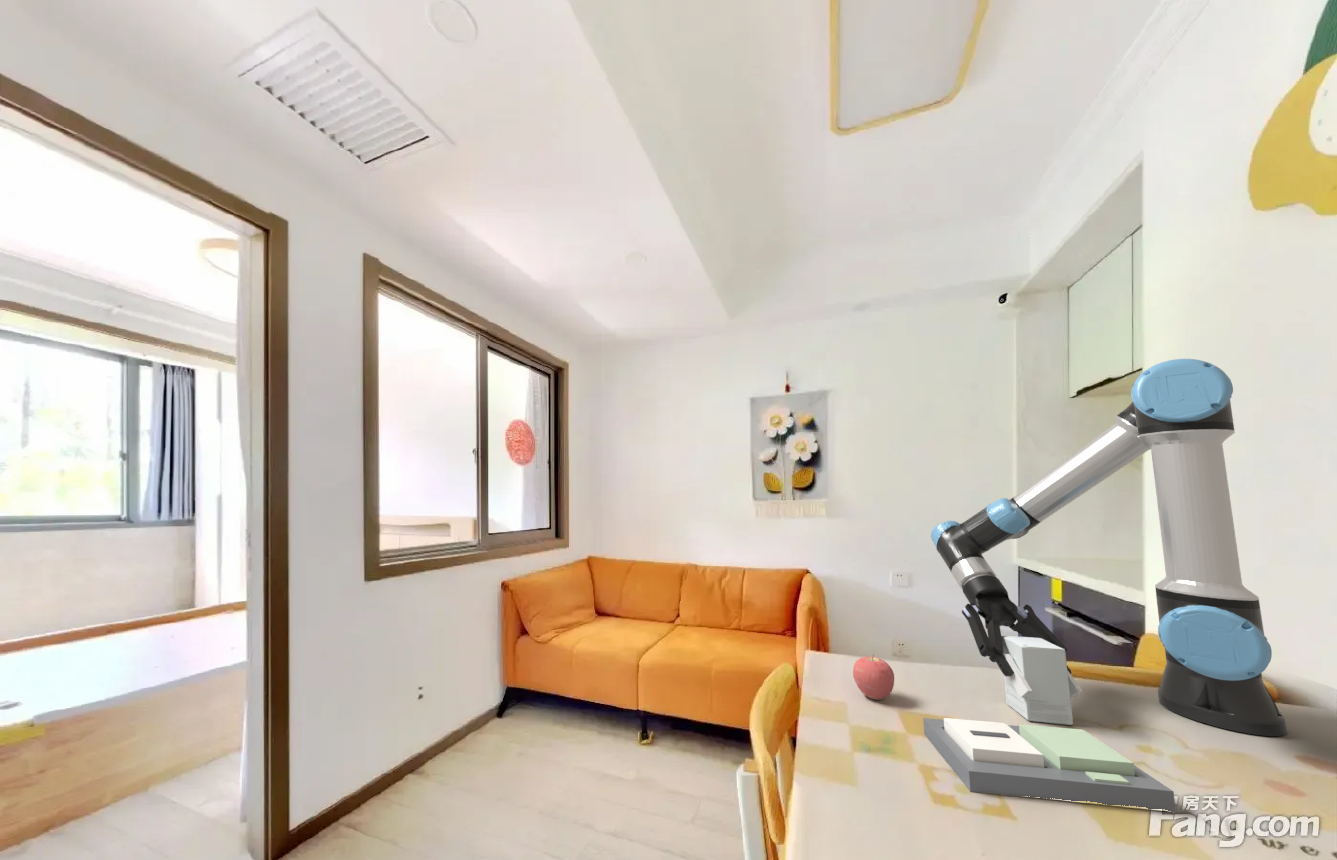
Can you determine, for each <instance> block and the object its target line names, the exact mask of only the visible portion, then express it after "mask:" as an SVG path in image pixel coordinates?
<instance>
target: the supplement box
mask: <svg viewBox="0 0 1337 860" xmlns="http://www.w3.org/2000/svg"><path fill="white" fill-rule="evenodd" d="M1001 637H1002V644H1003V650H1004V653H1003V655H1005V654H1010V656H1011V657H1012V659H1013V661H1014V662H1015V664H1016V665H1017V667H1018V669H1019V670H1020V672H1021V673H1022V675H1023V677H1024V678H1025V680H1026V681H1027V683H1028V685H1029V686H1030V688H1031V690H1032V691H1031V692H1030V693H1029V694H1028V695H1027V696H1026V697H1025V698H1020V696H1019V694H1018V693H1017V691H1016V689H1015V688H1014V686H1013V684H1012V683H1011V681H1010V679H1009V678H1008V676H1005V675H1004V674H1003V678H1004V689H1005V700H1006V701H1005V702H1006V705H1008V706H1009V707H1010V708H1012V709H1013V710H1014V711H1015V712H1016V713H1018V714H1019V715H1020V716H1022V717H1023V718H1024V719H1025V720H1027V721H1031V722H1039V723H1049V724H1055V725H1065V726H1067V725H1068V726H1073V725H1074V719H1073V708H1072V698H1070V690H1069V681H1068V672H1067V666H1068V665H1067V656H1066V655H1067V654H1066V652H1065V649H1063V648H1061V647H1058V646H1056V645H1054V644H1052V643H1050V642H1048V641H1046V640H1044V639H1042V638H1033V637H1022V636H1017V635H1015V636H1013V635H1012V636H1011V635H1001Z"/></svg>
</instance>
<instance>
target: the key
mask: <svg viewBox="0 0 1337 860" xmlns="http://www.w3.org/2000/svg"><path fill="white" fill-rule="evenodd" d="M1018 726H1019V731H1020V736H1021V737H1022V738H1024V739H1025V740H1026V741H1027V742H1028V743H1030V744H1031V745H1032V746H1033V747H1034V748H1036V749H1037V750H1038V751H1039V752H1040V753H1042V754H1043V756H1044V757H1045V758H1047V759H1048V760H1049V761H1050V762H1051V763H1053V764H1054V765H1055V766H1056V767H1057V768H1059V769H1062V770H1072V771H1083V772H1085V771H1086V772H1096V773H1107V774H1117V775H1124V776H1135V771H1134V765H1135V764H1134V762H1132V760H1129V759H1128V758H1127V757H1125V756H1123V755H1122V754H1120V753H1119V752H1118V751H1116V750H1114V749H1113V748H1112V747H1110V746H1108V745H1107V744H1105V742H1103V741H1101V740H1100V739H1098V738H1096V737H1095V736H1094V735H1092V734H1090V733H1089V732H1087V731H1086V730H1085V729H1080V728H1079V729H1078V728H1067V727H1055V726H1046V725H1045V726H1044V725H1032V724H1031V725H1030V724H1020V723H1019V724H1018Z"/></svg>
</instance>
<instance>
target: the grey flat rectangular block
mask: <svg viewBox="0 0 1337 860" xmlns="http://www.w3.org/2000/svg"><path fill="white" fill-rule="evenodd" d="M922 719H923V734H924V736H925V737H926V738H927V740H928V741H929V742H930V744H932V745H933V747H934V748H935V750H936V751H937V752H938V754H939V755H940V756H941V757H942V758H943V760H944V761H945V762H946V763H947V764H948V766H949V767H950V768H951V770H952V771H953V772H954V773H955V774H956V776H958V778H959V779H960V781H961V782H962V783H963V784H964V786H965V787H966V788H967V789H968V790H969V791H970V793H971V792H973V793H980V794H981V793H982V794H991V795H992V794H993V795H999V794H1001V795H1000V796H1009V797H1010V796H1011V797H1018V796H1028V797H1029V796H1030V797H1040V798H1045V799H1044V800H1047V799H1050V798H1051V799H1052V798H1053V799H1054V798H1055V799H1062V800H1071V801H1086V802H1087V801H1090V802H1097V803H1102V804H1105V805H1106V804H1107V805H1121V806H1122V805H1123V806H1124V805H1125V806H1129V805H1130V806H1136V807H1137V806H1138V807H1146V808H1148V809H1165V810H1168V811H1171V812H1174V813H1173V814H1177V808H1176V807H1177V806H1176V801H1175V793H1174V790H1172V789H1171V788H1169V787H1168V786H1167V785H1165V784H1164V783H1162V782H1160V781H1158V779H1156V778H1154V777H1153V776H1151V775H1150V774H1149V773H1146V772H1145V771H1144V770H1142V769H1141V768H1140V767H1138V766H1136V765H1135V764H1134V771H1135V776H1124V775H1117V774H1107V773H1096V772H1086V771H1085V772H1083V771H1072V770H1062V769H1059V768H1057V767H1056V766H1055V765H1054V764H1053V763H1051V762H1050V761H1049V760H1048V759H1047V758H1045V757H1044V756H1043V754H1042V753H1040V752H1039V751H1038V750H1037V749H1036V748H1034V747H1033V746H1032V745H1031V744H1030V743H1028V742H1027V741H1026V740H1025V739H1024V738H1022V737H1021V736H1020V731H1019V725H1013V724H1012V725H1009V724H1007V723H1006V722H996V721H986V720H985V721H984V720H975V719H974V720H973V719H972V720H971V719H961V718H951V717H949V718H948V717H943V719H939V718H927V717H923V718H922ZM1002 794H1003V795H1002ZM1028 797H1027V798H1028ZM1046 798H1047V799H1046Z"/></svg>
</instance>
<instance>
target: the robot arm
mask: <svg viewBox="0 0 1337 860" xmlns="http://www.w3.org/2000/svg"><path fill="white" fill-rule="evenodd" d="M1233 393H1234V387H1233V382H1232V381H1231V378H1230V377H1229V375H1227V373H1226V372H1225V371H1224V370H1223V369H1221V368H1220V367H1218V366H1217V365H1215V364H1213V363H1211V362H1207V361H1205V360H1200V359H1194V358H1175V359H1169V360H1164V361H1162V362H1159V363H1155V364H1154V365H1152V366H1150V367H1149V368H1147V369H1146V370H1144V371H1143V372H1142V373H1141V374H1140V375H1139V376H1138V377H1137V378H1136V379H1135V380H1134V382H1133V384H1132V387H1131V390H1130V394H1131V395H1130V396H1131V397H1130V398H1131V401H1132V402H1131V403H1130V404H1129V405H1128V406H1127V407H1126V408H1125V409H1123V410H1122V411H1120V413H1118V414H1116V415H1115V417H1114V424H1112V425H1111V426H1109V427H1108V428H1107V429H1105V430H1104V431H1103V432H1101V433H1100V434H1099V435H1097V436H1095V437H1094V438H1093V439H1092V440H1090V441H1089V442H1087V443H1085V445H1083V446H1082V447H1081V448H1079V449H1077V450H1076V451H1075V452H1074V453H1072V454H1071V455H1069V456H1068V457H1067V458H1065V459H1064V460H1062V461H1061V462H1060V463H1059V464H1057V465H1056V466H1054V467H1052V468H1051V469H1050V470H1049V471H1047V472H1046V473H1044V475H1042V476H1040V477H1039V478H1037V479H1036V480H1035V481H1033V482H1032V483H1030V484H1029V485H1028V486H1027V487H1025V488H1024V489H1022V490H1021V491H1019V493H1017V494H1016V495H1014V496H1012V498H1010V499H1008V498H1007V497H1001V498H999V499H997V500H995V501H994V502H992V503H989V504H987V506H985V507H984V508H983V509H981V510H980V511H979V512H977V513H976V514H974V515H973V516H971V517H970V518H968V519H967V520H965V521H963V522H961V523H959V522H958V521H955V520H946V521H945V522H940V523H938V524H936V525H935V526H934V527H933V529H932V530H931V533H930V538H931V541H932V542H933V544H934V546H935V549H936V551H937V553H938V554H939V555H940V557H941V559H942V560H943V561H944V563H945V565H946V566H947V567H948V569H949V571H950V573H951V574H952V577H954V579H955V581H956V583H957V585H958V586H959V587H960V589H961V590H962V593H963V594H964V596H965V598H966V600H967V601H968V602H969V603H967V604H966V605H964V607H963V609H962V610H961V614H962V615H963V617H964V618H965V619H966V621H967V623H968V625H969V627H970V630H971V633H972V636H973V638H974V640H975V643H976V646H977V649H978V651H979V654H980V656H982V657H984V658H985V657H988V659H989V661H991V662H992V663H995V664H996V665H997V666H998V667H999V670H1000V671H1001V673H1002V674H1003V676H1004V675H1005V676H1008V678H1009V679H1010V681H1011V683H1012V684H1013V686H1014V688H1015V689H1016V691H1017V693H1018V694H1019V696H1020V698H1025V697H1026V696H1027V695H1028V694H1029V693H1030V692H1031V691H1032V690H1031V688H1030V686H1029V685H1028V683H1027V681H1026V680H1025V678H1024V677H1023V675H1022V673H1021V672H1020V670H1019V669H1018V667H1017V665H1016V664H1015V662H1014V661H1013V659H1012V657H1011V656H1010V654H1005V655H1003V653H1004V650H1003V644H1002V637H1001V636H1002V631H1001V627H1002V626H1003V627H1008V628H1010V629H1011V630H1012V631H1013V632H1017V633H1018V634H1019V635H1020V637H1033V638H1042V639H1044V640H1046V641H1048V642H1050V643H1052V644H1054V645H1056V646H1058V647H1061V648H1063V649H1065V653H1066V652H1067V651H1068V649H1067V647H1066V646H1065V645H1064V644H1063V643H1062V642H1061V641H1060V639H1059V638H1058V637H1057V636H1056V635H1055V634H1054V633H1053V632H1052V630H1050V628H1048V627H1047V626H1046V624H1045V623H1044V622H1043V621H1042V620H1041V619H1040V618H1039V617H1038V616H1037V615H1036V613H1035V611H1034V609H1033V607H1032V606H1031V605H1029V604H1025V605H1023V606H1018V605H1016V604H1015V603H1014V602H1013V601H1011V599H1010V596H1009V594H1008V593H1009V592H1008V590H1007V588H1006V587H1005V586H1004V585H1003V583H1002V582H1001V581H1000V578H998V577H997V574H996V573H995V571H994V570H993V569H992V568H991V566H990V565H989V563H988V562H987V560H986V558H984V556H983V554H984V553H986V552H988V551H990V550H991V549H993V548H995V547H997V546H998V545H999V544H1000V545H1001V544H1002V543H1004V542H1005V541H1008V540H1013V539H1015V540H1016V539H1020V538H1022V537H1024V536H1025V535H1027V534H1028V533H1029V532H1030V531H1031V530H1032V529H1033V528H1035V527H1036V526H1038V525H1039V524H1040V523H1042V522H1044V521H1045V520H1047V519H1048V518H1049V517H1051V516H1052V515H1054V514H1055V513H1057V512H1059V511H1060V510H1061V509H1063V508H1064V507H1065V506H1067V505H1069V504H1070V503H1072V502H1073V501H1075V500H1076V499H1078V498H1079V497H1081V496H1083V495H1084V494H1086V493H1087V492H1089V490H1091V489H1093V488H1094V487H1097V485H1099V484H1100V483H1102V482H1103V481H1104V480H1106V479H1108V478H1109V477H1111V476H1112V475H1114V474H1115V473H1117V472H1118V471H1120V470H1121V469H1123V468H1124V467H1126V466H1127V465H1128V464H1130V463H1131V462H1132V463H1133V461H1134V460H1136V459H1138V458H1139V457H1140V456H1142V455H1144V454H1145V453H1146V452H1148V451H1151V453H1150V454H1151V459H1152V460H1151V461H1152V469H1153V476H1154V477H1153V479H1154V484H1155V485H1154V486H1155V493H1156V502H1157V503H1156V504H1157V511H1158V512H1157V513H1158V519H1159V526H1160V535H1161V536H1160V537H1161V544H1162V553H1163V561H1164V570H1165V577H1164V578H1163V579H1162V580H1160V581H1159V582H1158V583H1156V584H1155V596H1156V606H1157V613H1158V623H1159V624H1158V626H1157V634H1158V638H1159V640H1160V642H1161V644H1162V646H1163V647H1164V653H1165V661H1166V665H1165V667H1164V670H1163V674H1162V677H1161V681H1160V685H1159V686H1158V688H1157V694H1158V695H1157V696H1158V702H1159V704H1160V703H1161V704H1162V705H1163V707H1164V706H1165V707H1166V709H1167V708H1168V709H1167V710H1169V711H1171V712H1173V713H1175V714H1178V715H1180V716H1182V717H1185V718H1187V719H1191V720H1193V721H1196V722H1199V723H1202V722H1203V724H1205V723H1206V725H1210V726H1214V727H1217V728H1220V729H1223V730H1224V729H1225V730H1230V731H1234V732H1238V733H1243V734H1249V735H1257V736H1265V737H1266V736H1268V737H1280V736H1285V735H1287V733H1288V730H1287V724H1286V720H1285V719H1286V718H1285V717H1284V715H1283V713H1281V712H1280V711H1279V709H1278V707H1277V704H1276V702H1275V700H1274V699H1273V697H1272V695H1271V693H1270V692H1269V690H1268V688H1267V687H1266V685H1265V683H1264V680H1263V676H1262V673H1263V672H1264V671H1266V669H1267V668H1268V666H1269V665H1270V663H1271V660H1272V647H1271V644H1270V643H1269V641H1268V638H1267V637H1266V635H1265V632H1264V625H1263V623H1264V622H1263V618H1262V611H1261V605H1260V597H1259V596H1258V595H1256V594H1254V593H1253V592H1252V591H1250V590H1249V589H1248V588H1246V587H1245V586H1244V585H1243V582H1242V580H1243V579H1242V574H1241V568H1240V566H1241V565H1240V559H1239V553H1238V545H1237V544H1238V543H1237V538H1236V531H1235V530H1236V529H1235V525H1234V518H1233V517H1234V516H1233V511H1232V503H1231V502H1232V501H1231V495H1230V489H1229V481H1228V474H1227V473H1228V472H1227V468H1226V466H1227V465H1226V461H1225V460H1226V459H1225V453H1224V447H1223V446H1224V445H1223V444H1224V442H1225V441H1226V440H1228V439H1229V438H1230V437H1232V436H1233V435H1234V434H1235V433H1236V432H1235V424H1234V418H1233V410H1232V404H1231V403H1232V402H1231V398H1232V395H1233ZM981 618H983V619H984V624H985V626H984V624H983V622H982V619H981ZM986 630H987V631H986ZM1067 672H1068V681H1069V690H1070V699H1075V698H1076V697H1077V696H1078V695H1080V694H1081V693H1082V692H1083V690H1082V689H1081V686H1080V685H1079V683H1077V681H1076V679H1075V678H1074V676H1072V671H1071V669H1070V667H1069V666H1068V665H1067ZM1161 704H1160V705H1161ZM1162 705H1161V706H1162ZM1165 707H1164V708H1165Z"/></svg>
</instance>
